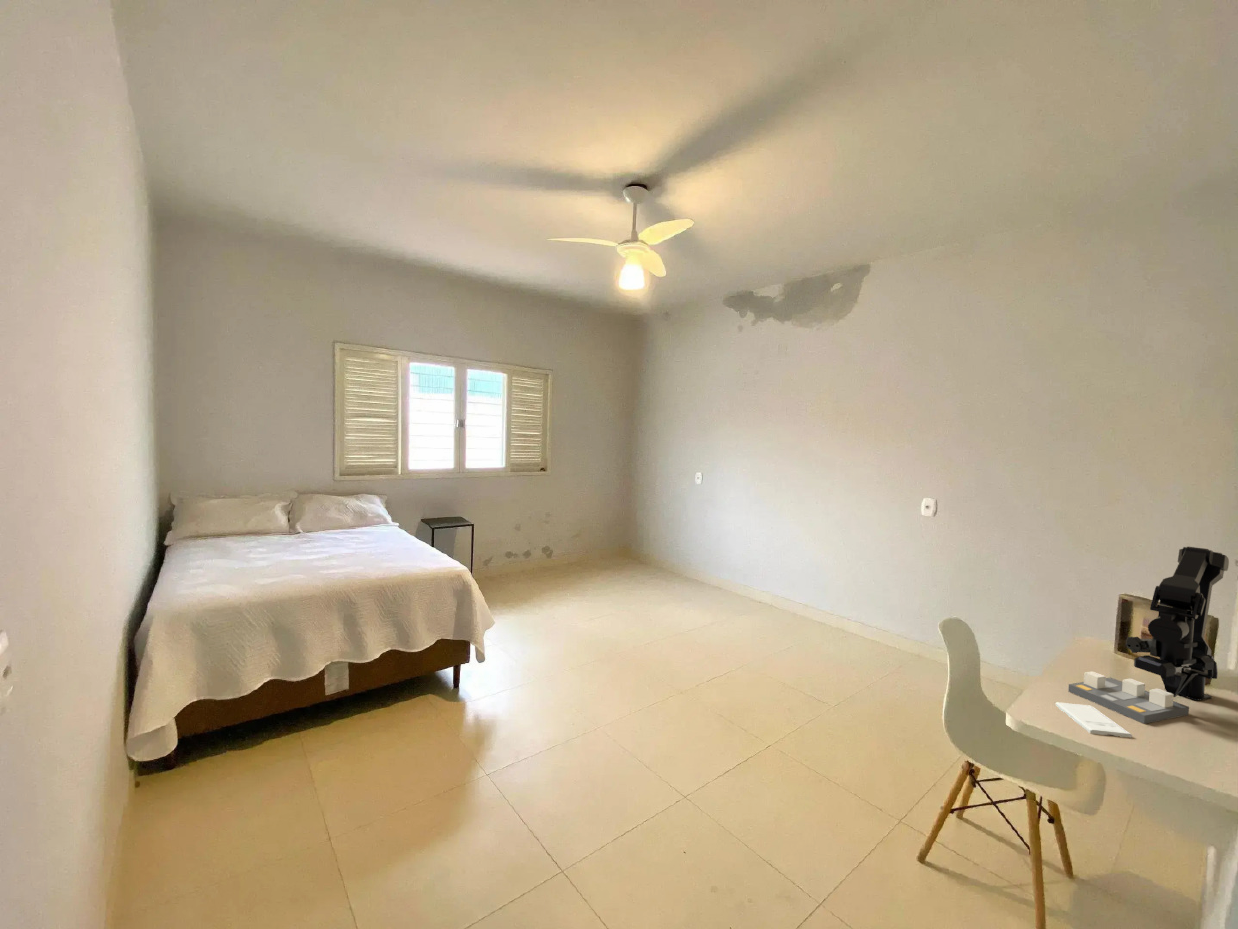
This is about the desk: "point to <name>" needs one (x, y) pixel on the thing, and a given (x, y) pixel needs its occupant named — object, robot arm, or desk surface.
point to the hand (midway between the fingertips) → (1171, 696)
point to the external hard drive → (1092, 720)
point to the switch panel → (1128, 702)
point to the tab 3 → (1161, 697)
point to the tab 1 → (1094, 679)
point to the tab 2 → (1133, 687)
